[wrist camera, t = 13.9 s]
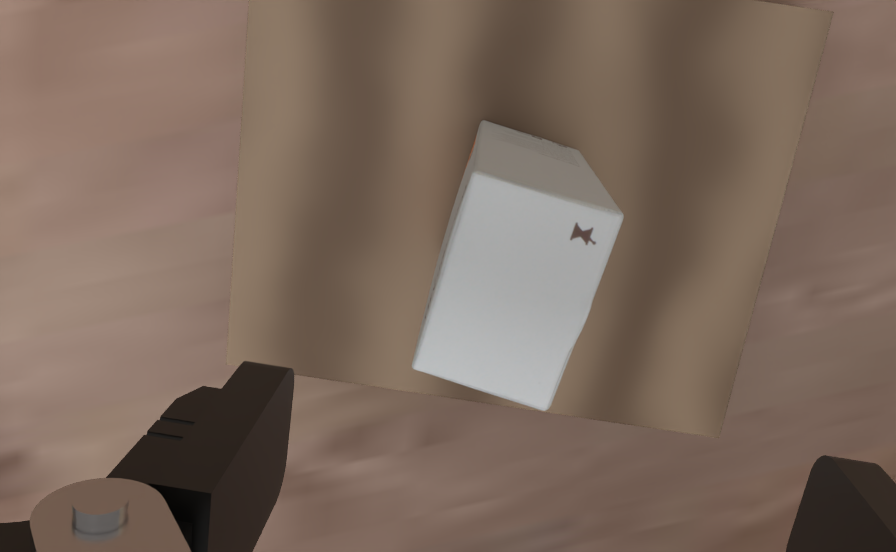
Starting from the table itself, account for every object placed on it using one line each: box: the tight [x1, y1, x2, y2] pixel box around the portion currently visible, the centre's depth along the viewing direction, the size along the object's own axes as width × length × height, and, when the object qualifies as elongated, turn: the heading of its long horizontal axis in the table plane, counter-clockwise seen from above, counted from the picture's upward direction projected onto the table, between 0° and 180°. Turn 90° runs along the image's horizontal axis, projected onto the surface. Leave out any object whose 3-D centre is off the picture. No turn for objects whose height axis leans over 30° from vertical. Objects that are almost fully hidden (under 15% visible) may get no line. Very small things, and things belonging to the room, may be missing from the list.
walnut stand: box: [226, 0, 834, 438], centre depth 34 cm, size 22×18×4 cm
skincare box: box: [412, 120, 624, 411], centre depth 27 cm, size 6×4×12 cm
